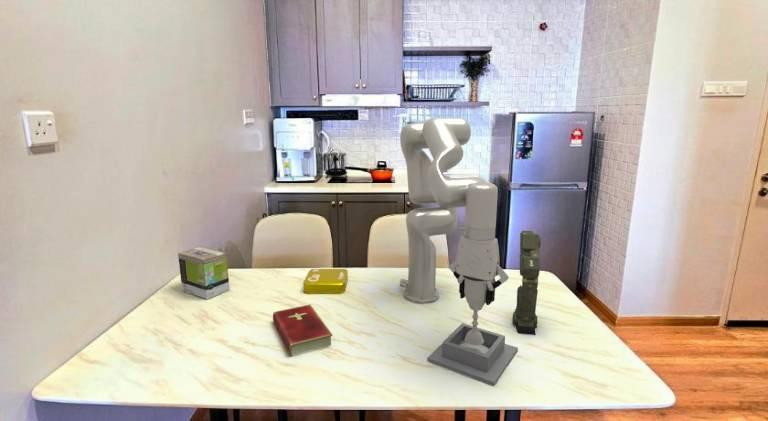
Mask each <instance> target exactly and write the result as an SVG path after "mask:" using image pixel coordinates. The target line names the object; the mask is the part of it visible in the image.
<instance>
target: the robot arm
mask: <svg viewBox="0 0 768 421" xmlns="http://www.w3.org/2000/svg"><path fill="white" fill-rule="evenodd" d="M469 123H470V122H468V121H467V120H466V119H465V118H464V117H461V116H437V117H436V116H435V117H432V118H431V117H430V118H429V119H427V120H426V121H422V122H421V121H419V122H411V123H408V124H405V125H404V126H403V127H402V128H401V130H400V137H399V141H400V148H401V151H402V155H403V156H404V159H405V164H406V165H405V166H406V175H407V186H408V187H407V189H408V190H407V191H408V197H409V200H410V203H412V204H414V205H415V204H416V205H429V204H437V205H438V206H437V207H420V208H414V209H412V210H410V211H409V212H408V213H407V214H406V216H405V223H406V224H405V225H406V231H407V238H408V239H407V241H408V242H407V243H408V253H407V254H408V263H407V264H408V271H407V272H408V273H407V275H408V276H407V277H408V278H407V279H405V278H400V280H399V287H403V288H405V289H404V290H403V297H404V298H405V299H406V300H408V301H410V302H413V303H418V304H419V303H420V304H428V303H433V302H435V301H437V300H438V299H439V298H440V291H439V290H438V289H437V288H436V277H437V276H436V274H437V273H436V270H437V247H436V245H435V243H434V242H433V241H432V239H431V238H430V237H432V236H433V237H435V236H440V235H441V236H442V235H443V236H444V235H450V234H453V233H454V232H455V231H456V230H457V225H458V210H457V209H458V208H464V224H460V225H459V231H461V232H462V233H463V235H461V236H460V237H459V238H460V239H459V240H458V241H459V242H458V248H457V253H456V260H454V261H453V262H451V264H449V265H448V269H449V270H450V271H451V273H452V274H453V277H455V278H456V280H457V283H458V284H459V285H458V286H459V288H458V293H459V299H465V298H466V297H465V294H464V285H465V279H464V278H465V276H466V277H470V278H475V279H479V280H484V281H487V285H488V290H487V291H486V303H485V305H486V306H490V305H491V304H492V303H493V302H494V301H495V298H496V297H495V296H496V289H497V288H498V287H501V285H503V284H504V283H505V282H507V281H508V280H509V279H510V278H509V275H508V274H507V272H505V270H504V269H503V268H502V267H501V266H500V263H501V262H500V249H499V248H500V247H499V242H498V238H496V229H497V226H496V225H497V211H498V210H497V207H498V187H497V185H496V184H494V183H491V182H487V181H486V180H485V179H483V178H482V177H475V176H474V177H455V178H453V177H452V178H451V177H450V176H448V175H445V174H443V173H445V172H447V171H449V170H451V169H453V168H455V167H456V166H457V165H458V164H460V163H461V161H462V159H463V158H464V148H463V147H462V146H464V145H466V144H467V143H469V141H470V140H471V139H470V138H471V133H472V130H471V125H470V124H469ZM423 149H428V150H429V153H430V155H431V156H432V158H433V160H431V159H430V157H429V155H428V153H426V152H425V151H424V150H423ZM463 276H464V277H463ZM497 276H499V279H498V280H496V277H497Z"/></svg>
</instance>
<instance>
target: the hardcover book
mask: <svg viewBox="0 0 768 421" xmlns="http://www.w3.org/2000/svg"><path fill="white" fill-rule="evenodd" d="M272 320H273V324H274V326H275V327H276V330H277V331H278V334H279V336H280V338H281V340H282V342H283V344H284V346H285V348H286V350H287V352H288V354H289V356H290V357H293V356H296V355H300V354H304V353H308V352H312V351H316V350H320V349H324V348H327V347H331V346H332V337H333V333H332V331H330V329H329V328H328V326H327V325H326V324H325V322H324V321H323V319H321V317H320V316H319V314H318V312H316V310H315V309H314V307H313V306H312V305H311V304H305V305H301V306H296V307H291V308H287V309H286V308H285V309H282V310H277V311H273V312H272Z"/></svg>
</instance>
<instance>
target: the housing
mask: <svg viewBox="0 0 768 421" xmlns="http://www.w3.org/2000/svg"><path fill="white" fill-rule="evenodd" d="M472 329H473V325H471V324H470V325H469V324H467V323H463V322H462V323H461V324H459V325H458V326H457V327H456V328H455V329H454V330H453V332H451V333H450V334H449V335H448V336H447V337H446V338H445V339H444V340H443V341H442V343H441V344H440V345H438V347H437V348H436V349H435V350H434V351H432V353H431V354H429V355H428V356H427V358H426V362H428V363H431V364H434V365H437V366H440V367H442V368H445V369H447V370H450V371H452V372H455V373H458V374H461V375H463V376H466V377H469V378H471V379H474V380H477V381H479V382H482V383H485V384H487V385H490V386H493V387H495V385H496V384H497V382H498V381H500V378H501V376H502V375H503V374H504V373H505V370H506V369H507V367H508V366H509V365H510V363H511V362H512V360H513V359H514V357H515V356H516V354H517V353H518V350H519V348H518V347H517V346H514V345H510V344H507V343H506V335H503V334H499V333H497V332H495V331H490V330H487V329H484V328H480V327H477V330H478V331H480V333H481V334H482V337H483V340H484V343H483V344H481V345H471V344H468V343H466V342H465V340H464V338H465V337H466V335H467V333H468V332H469V331H470V330H472Z"/></svg>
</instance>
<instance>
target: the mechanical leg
mask: <svg viewBox="0 0 768 421" xmlns="http://www.w3.org/2000/svg"><path fill="white" fill-rule="evenodd" d="M519 235H520V240H519V251H520V254H519V276H521V277H522V278H521V279H522V281H521V282H522V283H521V284H519V286H518V287H517V289H516V290H517V291H516V306H515V310H514V311H513V312H512V325H513V326H514V328H515V330H516V332H517V334H520V335H521V334H522V335H530V336H535V335H536V328H537V327H538V323H539V322H538V321H539V320H538V319H539V318H538V315H536V311H537V310H536V308H537V299H538V292H539V290H538V286H539V277H540V249H541V245H542V244H541V242H542V240H541V235H540V234H538V233H537V232H536V233H535V232H533V231H531V230H522V231H520V233H519Z"/></svg>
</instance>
